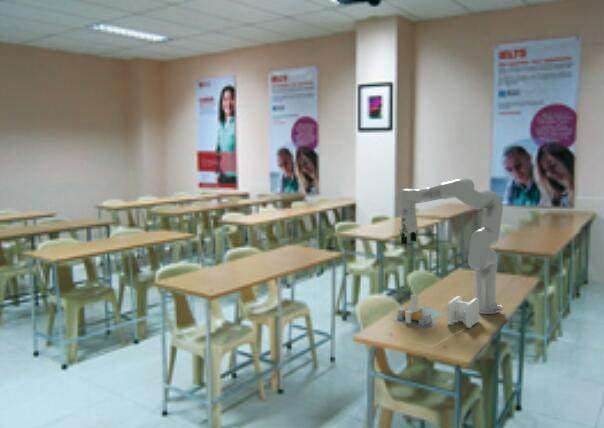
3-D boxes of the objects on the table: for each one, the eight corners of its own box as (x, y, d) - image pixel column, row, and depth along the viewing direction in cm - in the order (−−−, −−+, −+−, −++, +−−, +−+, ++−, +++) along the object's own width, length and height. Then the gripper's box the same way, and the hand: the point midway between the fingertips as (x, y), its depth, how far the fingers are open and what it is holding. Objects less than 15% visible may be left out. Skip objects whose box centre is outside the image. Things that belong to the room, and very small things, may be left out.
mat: (446, 314, 252) (446, 313, 252) (433, 320, 244) (433, 319, 244) (415, 307, 265) (414, 306, 265) (401, 313, 257) (401, 311, 257)
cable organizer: (468, 330, 228) (468, 305, 227) (445, 326, 235) (445, 302, 233) (479, 321, 240) (479, 297, 239) (457, 317, 247) (457, 294, 245)
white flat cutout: (423, 317, 246) (423, 292, 245) (409, 323, 238) (409, 298, 237) (419, 316, 248) (418, 291, 247) (405, 322, 240) (405, 297, 239)
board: (440, 322, 241) (440, 316, 240) (425, 329, 232) (425, 323, 231) (404, 314, 255) (404, 308, 255) (389, 320, 246) (389, 315, 246)
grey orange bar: (431, 322, 239) (431, 313, 239) (426, 324, 236) (426, 316, 236) (403, 316, 250) (403, 307, 250) (398, 318, 247) (398, 309, 247)
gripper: (406, 213, 271) (406, 245, 273) (422, 210, 283) (422, 240, 285) (393, 212, 276) (394, 244, 278) (410, 209, 289) (410, 239, 291)
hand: (408, 242), depth 282 cm, fingers open, 9 cm apart
